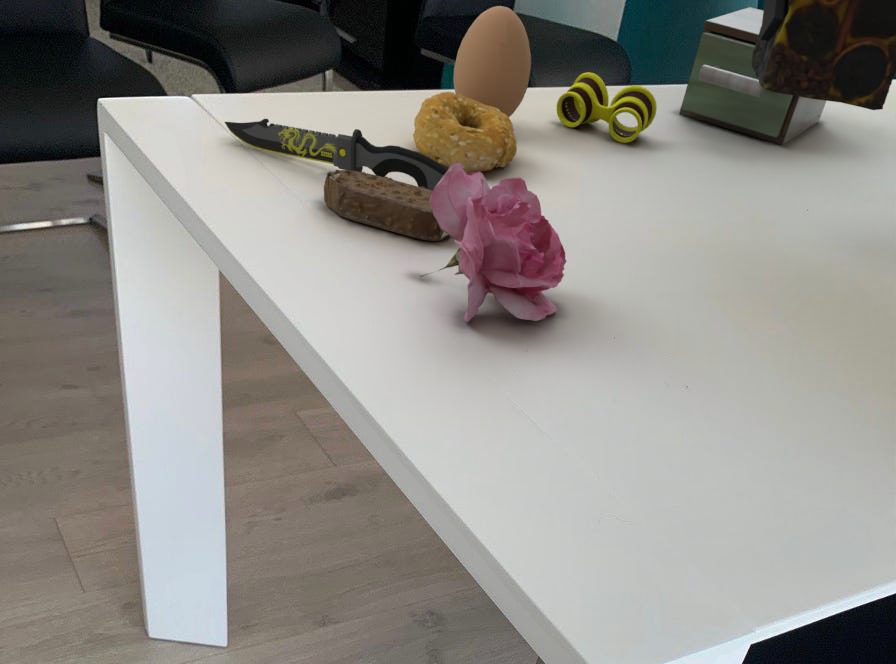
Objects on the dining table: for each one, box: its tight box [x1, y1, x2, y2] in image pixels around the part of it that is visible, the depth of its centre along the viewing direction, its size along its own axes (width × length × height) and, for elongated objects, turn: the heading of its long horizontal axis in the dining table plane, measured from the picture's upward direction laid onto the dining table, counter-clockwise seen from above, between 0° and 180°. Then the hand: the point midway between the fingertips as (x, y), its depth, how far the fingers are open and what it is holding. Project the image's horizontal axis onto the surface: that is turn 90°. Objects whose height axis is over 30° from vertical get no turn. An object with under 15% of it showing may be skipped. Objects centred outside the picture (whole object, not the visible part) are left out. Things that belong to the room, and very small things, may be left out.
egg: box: [453, 5, 532, 119], centre depth 103 cm, size 8×8×11 cm
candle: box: [751, 0, 896, 111], centre depth 83 cm, size 10×10×10 cm
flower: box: [419, 163, 568, 324], centre depth 72 cm, size 11×10×10 cm
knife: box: [224, 118, 449, 191], centre depth 88 cm, size 23×2×5 cm, turn 62°
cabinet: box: [678, 6, 827, 146], centre depth 121 cm, size 16×13×10 cm
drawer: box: [681, 32, 793, 137], centre depth 118 cm, size 19×12×8 cm, turn 148°
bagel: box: [412, 91, 518, 173], centre depth 96 cm, size 10×11×5 cm
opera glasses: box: [556, 71, 657, 144], centre depth 109 cm, size 10×5×5 cm, turn 62°
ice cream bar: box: [323, 169, 451, 242], centre depth 81 cm, size 5×15×3 cm, turn 70°
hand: (838, 40), depth 82 cm, fingers closed on candle, 10 cm apart
